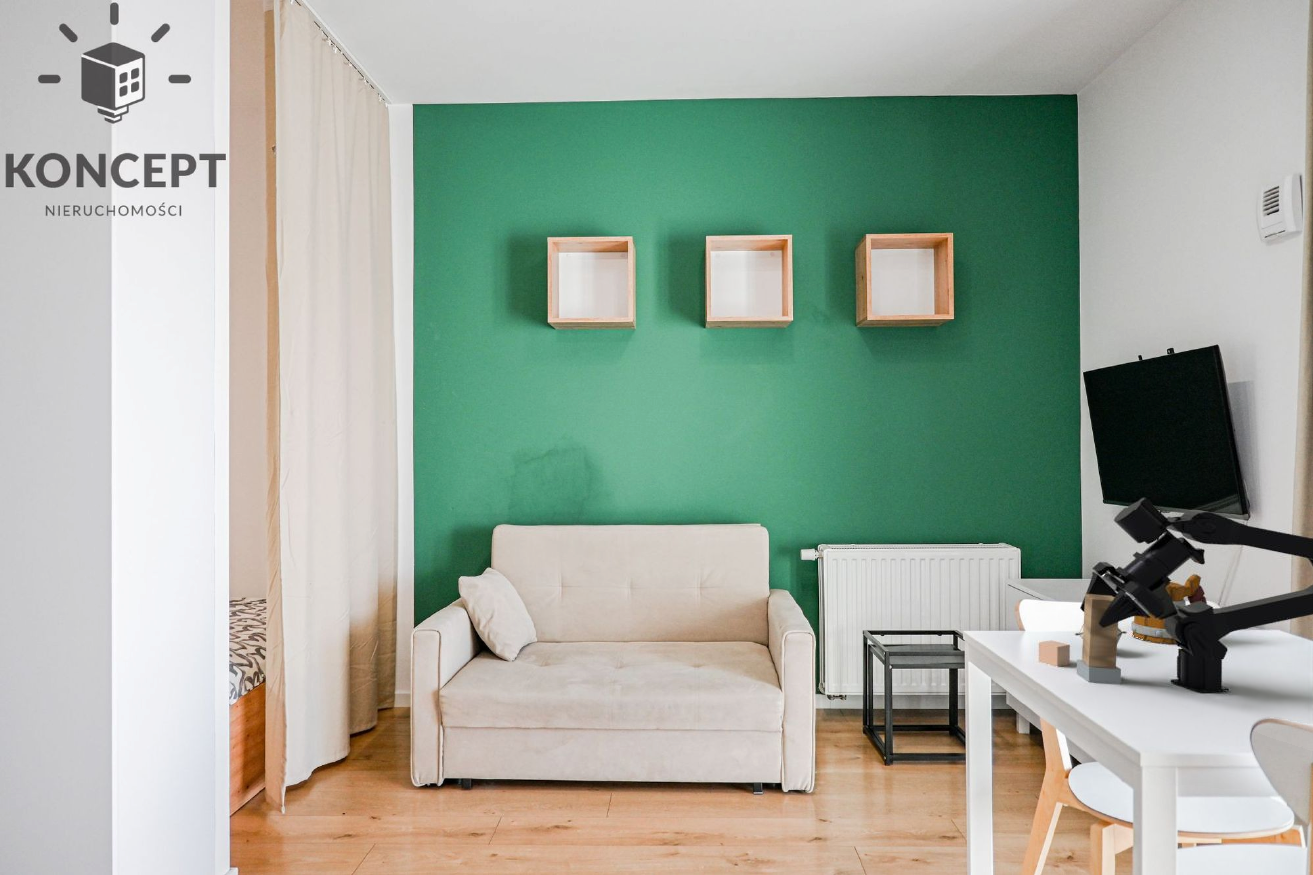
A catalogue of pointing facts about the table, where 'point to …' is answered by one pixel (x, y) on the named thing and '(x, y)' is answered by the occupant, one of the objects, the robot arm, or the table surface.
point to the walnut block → (1098, 633)
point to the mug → (1192, 590)
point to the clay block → (1054, 653)
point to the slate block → (1098, 673)
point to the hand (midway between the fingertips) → (1091, 617)
